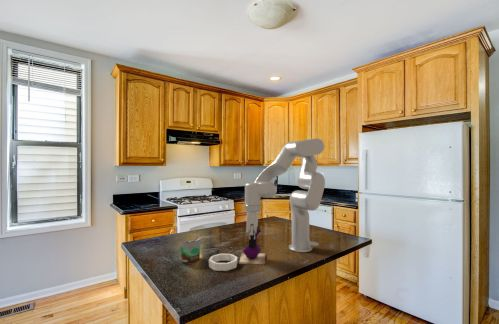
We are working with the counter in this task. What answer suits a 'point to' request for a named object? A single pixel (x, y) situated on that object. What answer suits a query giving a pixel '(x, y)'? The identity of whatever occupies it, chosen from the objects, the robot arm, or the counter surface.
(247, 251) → the perfume bottle
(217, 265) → the holder ring
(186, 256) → the food container
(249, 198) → the robot arm
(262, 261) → the coaster board
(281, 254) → the counter surface
